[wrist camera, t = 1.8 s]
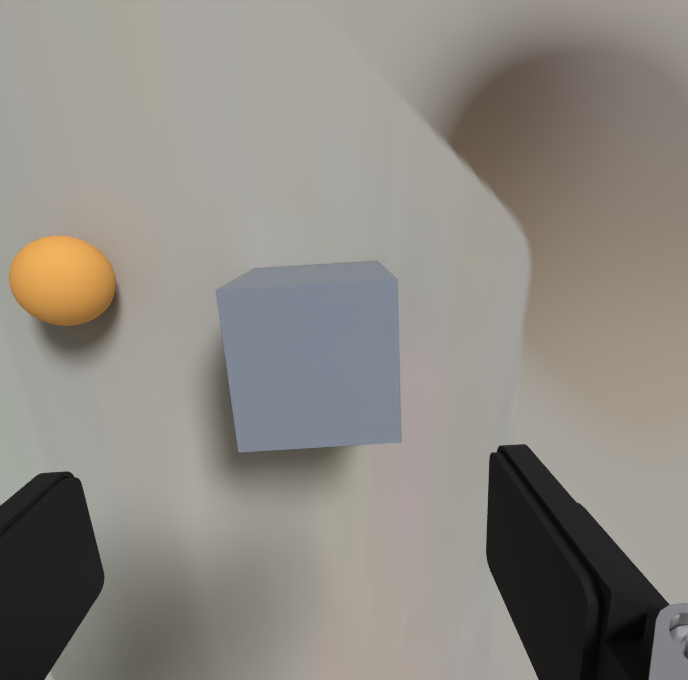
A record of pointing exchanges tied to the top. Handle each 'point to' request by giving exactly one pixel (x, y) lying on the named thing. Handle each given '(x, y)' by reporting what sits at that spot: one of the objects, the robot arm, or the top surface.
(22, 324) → the top surface
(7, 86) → the top surface
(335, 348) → the pale blue-grey cube
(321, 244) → the top surface
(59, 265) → the ball
